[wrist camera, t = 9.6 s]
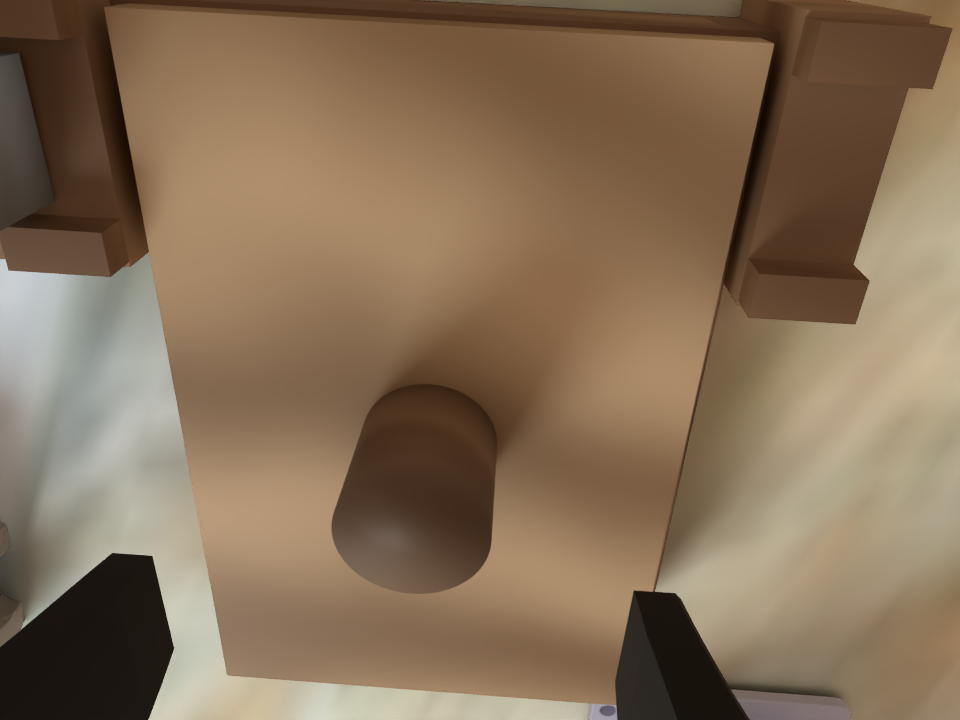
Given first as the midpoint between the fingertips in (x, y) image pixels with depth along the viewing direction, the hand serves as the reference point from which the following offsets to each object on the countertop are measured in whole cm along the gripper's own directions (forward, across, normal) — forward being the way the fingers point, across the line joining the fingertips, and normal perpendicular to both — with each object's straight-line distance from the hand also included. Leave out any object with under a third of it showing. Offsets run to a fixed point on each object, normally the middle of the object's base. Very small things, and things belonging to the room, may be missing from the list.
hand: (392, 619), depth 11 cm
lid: (+6, 0, 0) cm, 6 cm away
